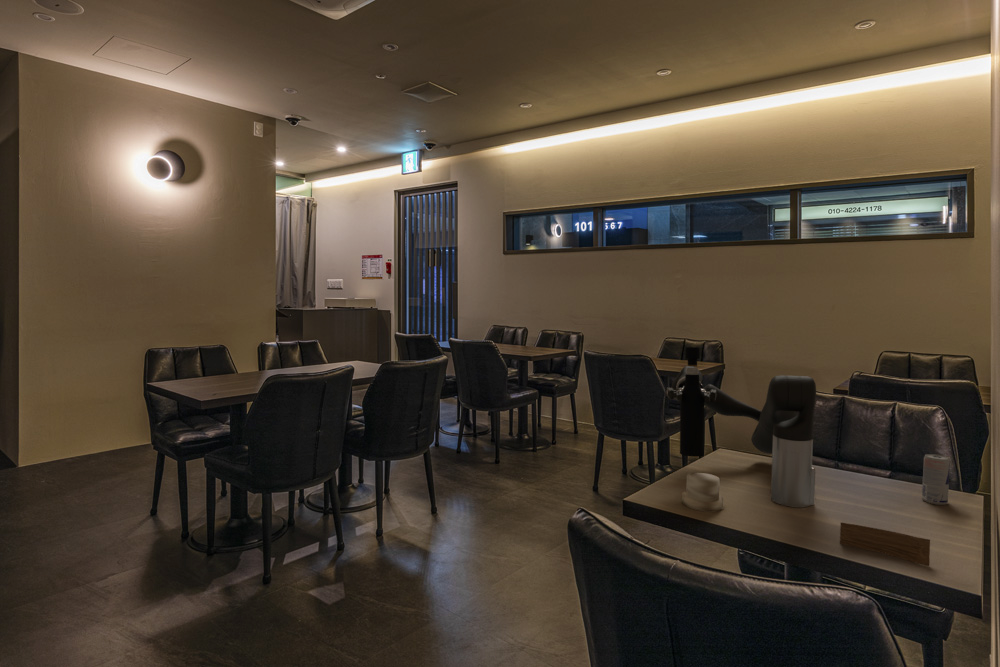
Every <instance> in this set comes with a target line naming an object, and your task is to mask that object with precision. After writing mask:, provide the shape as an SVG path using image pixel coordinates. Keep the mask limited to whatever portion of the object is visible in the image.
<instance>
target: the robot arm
mask: <svg viewBox="0 0 1000 667" xmlns="http://www.w3.org/2000/svg"><path fill="white" fill-rule="evenodd" d="M687 368H696V366H687V365H686V366H684V367H682V369H681V370H680V372H679V373H678V375H677V376H676V377H675V379H674V380H673V382H672V383H671V387H670V386H668V387H666V397H667V398H668V399H669V400H674V399H675V400H676V401H679V402H682V392H683V389H684V386H685V375H686V374H687V373H686V372H687V370H686V369H687ZM698 372H699V373H698V375H699V385H700V388H701V391H702V394H703V398H704V407H707V408H708V409H710V410H712V411H713V412H714V413H716V414H719V415H721V416H725V417H728V416H729V417H746V418H750V419H753V420H755V421H757V425H756V427H755V429H754V431H753V433H752V435H751V438H750V439H751V443H752V445H753V446H754V447H755V449H757V450H758V451H760V452H761V453H764V454H768V455H771V457H772V458H771V459H772V461H771V485H770V486H771V487H770V488H771V490H770V499H771V500H772V501H773V502H774V503H777V504H779V505H781V506H787V507H791V508H807V507H809V506H814V505H815V496H816V495H815V493H816V492H815V491H816V490H815V488H816V468H815V467H813V446H814V444H813V443H814V442H813V441H814V425H815V424H814V422H815V411H816V410H815V409H816V400H817V385H816V382H815V379H814V378H813V377H810V376H806V375H805V376H804V375H785V374H784V375H783V374H782V375H776V376H773V377H772V378H771V379H770V381H769V384H768V386H767V387H768V389H767V393H766V399H765V403H764V405H763V406H762V408H761V410H760V409H758V408H756V407H753V406H752V405H749V404H747V403H745V402H743V401H740V400H739V399H736V398H734V397H732V396H731V395H729V394H728V393H726V392H724V391H723V390H721V389H719V388H718V387H716V386H715V385H713V384H710V383H708V384H707V385H705V386H703V384H702V382H703V379H704V377H703V374H702V372H701V371H700V370H699V371H698ZM797 412H798V413H797Z"/></svg>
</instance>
